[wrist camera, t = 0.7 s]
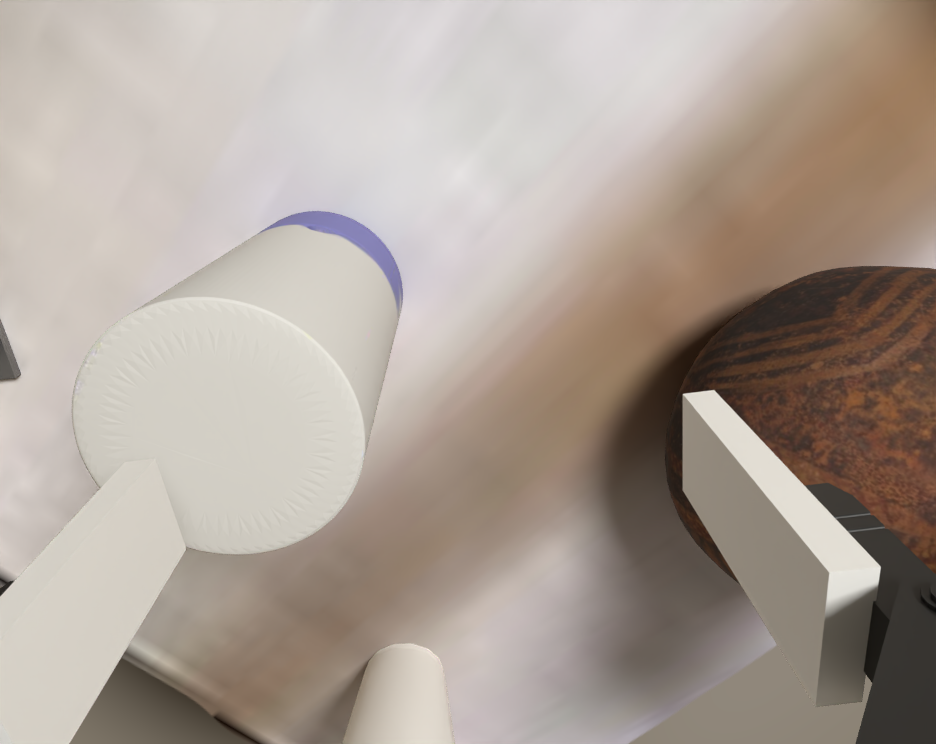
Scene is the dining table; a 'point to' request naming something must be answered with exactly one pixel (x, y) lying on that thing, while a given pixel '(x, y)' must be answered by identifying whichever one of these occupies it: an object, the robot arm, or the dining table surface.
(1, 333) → the grey barred cage
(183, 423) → the container
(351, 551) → the dining table surface
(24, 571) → the robot arm
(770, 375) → the jug
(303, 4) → the dining table surface
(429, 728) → the foam cup
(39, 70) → the dining table surface
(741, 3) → the dining table surface
